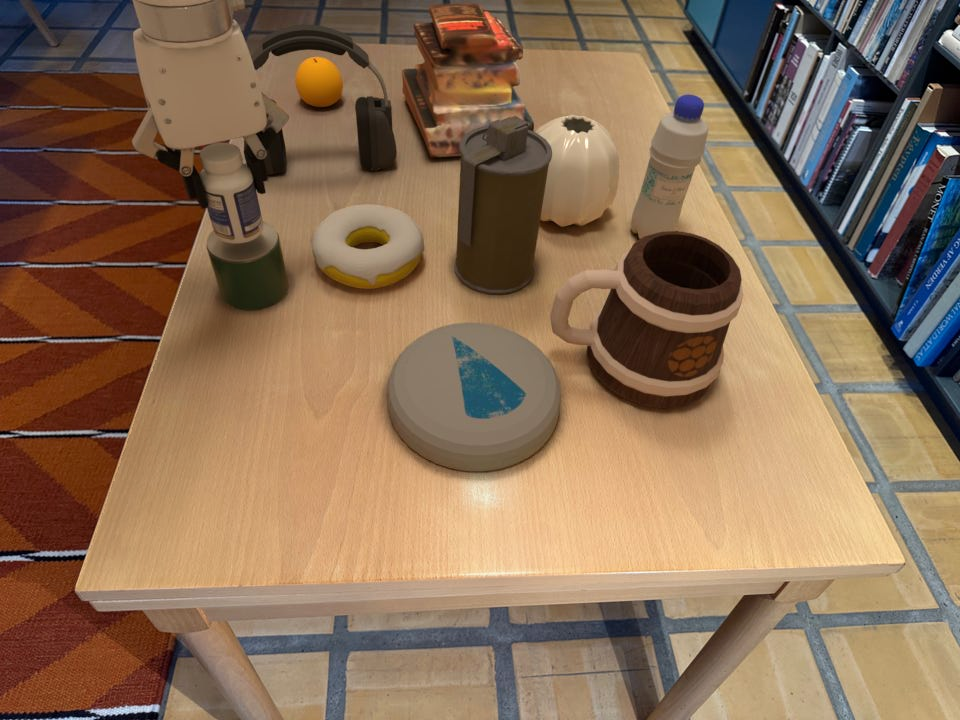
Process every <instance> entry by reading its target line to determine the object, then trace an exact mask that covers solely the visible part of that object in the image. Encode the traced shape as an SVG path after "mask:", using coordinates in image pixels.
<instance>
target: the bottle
mask: <svg viewBox="0 0 960 720" xmlns="http://www.w3.org/2000/svg"><path fill="white" fill-rule="evenodd" d="M704 109H705V103H704V100H703V99H702V98H701V97H700V96H698V95H695V94H689V93H688V94H683V95H681V96H679V97H678V98H677V99H676V102H675V105H674V107H673V111H672V112H668V113H666V114H664V115H663V116H662V117H661V118H660V121H659V123H658V125H657V127H656V130H655V132H654V135H653V136H652V138H651V141H650V143H651V144H650V148H649V156H650V157H649V160H648V163H647V167H646V171H645V174H644V178H643V181H642V184H641V189H640V192H639V194H638V197H637V200H636V203H635V205H634V207H633V211H632V215H631V220H630V221H631V222H630V227H631V231H632V233H633V234H636V235H637V236H638V240H640V239H641V238H643V237H644V236H648V235H651V234H655V233H659V232H666V231H676V228H677V226H678V224H679V220H680V216H681V213H682V208H683V205H684V201H685V198H686V195H687V193H688V190H689V187H690V184H691V182H692V179H693V175H694V172H695V170H696V167H697V166H699V165H700V163H701V160H702V157H703V155H704V153H705V150H706V149H705V148H706V144H707V143H706V142H707V137H708V133H709V124H708V123H707V122H706V120H704V119H703V118H702V115H703V112H704Z"/></svg>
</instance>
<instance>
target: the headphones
mask: <svg viewBox="0 0 960 720" xmlns="http://www.w3.org/2000/svg"><path fill="white" fill-rule="evenodd" d="M307 50H309V51H318V52H319V51H320V52H325V53H330V54H333V55H337V56H341V57H342V56H344V55H345V54H346V52H347V54H348V57H349V58H350V59H351V60H352V61H353V63H355V64H356V65H358V67H361V68H362V69H366V68H368V69H369V70H370V71H371V72H372V73H373V74H374V76H375V78H377V80H378V82H379V84H380V86H381V90H382V92H383V93H382V94H383V98H382V97H376V96H375V97H374V96H372V95H371V96H370V95H367V96H366V97H365V96H359V97H358V98H357V99H356V101H355V105H354V109H355V117H356V118H355V119H356V132H357V144H358V147H357V148H358V155H359V163H360V165H361V167H362V168H363V170H366V171H370V170H372V171H379V170H380V169H381V170H382V169H387V168H390V167H391V166H392V165H393V164H394V162H395V161H396V158H397V153H398V152H397V151H398V150H397V144H396V139H395V134H394V131H393V109H392V108H393V107H392V102H391V100H390V99H388V92H387V86H386V84H385V81H384V78H383V77H382V74H381V73H380V71H379V70H378V69H377V67H376V66H375V65H374V64H373V63H372V62H371V61H370V58H369V54H368V53H367V52H366V51H365V50H364V49H363V48H362V47H361V46H360V45H358V44H357V43H355V42H353V37H352V36H350V35H348V34H346V33H344V32H342V31H340V30H338V29H334V28H332V27H328V26H324V25H319V24H309V23H308V24H305V23H303V24H294V25H289V26H286V27H283V28H279V29H277V30H275V31H273V32H271V33H269V34H267V35H265V37H263V38H262V42H261V44H260V45H259V46H258V47H257V48H256V49H255V50H254V51H253V53H252V54H250V55H251V58H252V62H253V65H254V69H255V71H258V70H259V69H261V68H262V67H263V66H264V65H265V64H266V63H267V61H268V59H269V57H270V53H271V54H272V55H273V56H274V57H280V56H285V55H287V54H290V53H294V52H298V51H307ZM270 99H271V100H272V101H273V102H275V103H276V104H277V105H278V103H277V102H276V101H275V100H274V99H272V98H270ZM266 117H267V118H268V117H269V114H267V113H266ZM246 146H247V143H246V141H245V140H244V139H243V152H244V151H245V148H246ZM266 152H267V155H266V157H265V158H264V162H265V167H266V172H267V176H268V175H269V176H271V175H273V176H274V175H275V174H282V173H283V172H285V169H286V166H287V150H286V142H285V137H284V130H283V128H282V129H281V130H280V131H278V133H277V136H276V138H275V139H274V141H273V142H272V144H271V145H270V147H269V148H268V149H267V151H266ZM243 156H244V157H245V155H244V154H243Z"/></svg>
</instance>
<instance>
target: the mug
mask: <svg viewBox="0 0 960 720" xmlns="http://www.w3.org/2000/svg"><path fill="white" fill-rule="evenodd" d="M591 289H602V290H609V293H608V295H607V298H606V300H605V302H604V304H603V306H602V307H599V310H598V311H597V312H596V314H595V316H594V318H593V320H591V321H592V322H591V323H590V325H589V329H581V328H577V327H572V326H571V325H570V324H569V316H570V314H571V310H572V306H573V303H574V301H575V300H576V299H577V298H578V297H579V296H580V295H581V294H582V293H585V292H587V291H589V290H591ZM743 299H744V290H743V285H742V273H741V269H740V267H739V265H738V264H737V262H736V260H735V258H734V257H733V256H732V255H731V254H730V253H728V251H726V250H725V249H724V248H723V247H722V246H720V245H719V244H718V243H716V242H714V241H712V240H710V239H708V238H707V237H704V236H701V235H697V234H695V233H691V232H684V231H679V230H675V231H666V232H659V233H655V234H651V235H648V236H644V237H643V238H641V239H638V240H637V241H635V242H633V244H632V246H631V248H629V249H628V250H626V251H625V252H624V253H623V254H622V256H621V257H620V259H619V261H618V262H617V264H616V266H615V268H614V269H584V270H583V271H581V272H578V273H576V274H575V275H572V276H570V277H569V278H568V279H567V280H566V281H565V282H564V283H563V284H562V285H561V286H559V288H558V289H557V290H556V293H555V296H554V299H553V303H552V306H551V310H550V314H549V320H550V324H551V325H550V326H551V331H552V333H553V334H554V335H556V336H557V337H559V338H560V339H561V340H563V341H564V342H565V343H567V344H571V345H578V346H586V358H587V359H588V362H589V365H590V368H591V370H592V371H593V373H594V374H595V376H596V377H597V378H598V379H599V381H600V382H601V383H602V385H604V386H605V387H607V388H608V389H609V390H611V391H612V392H613V393H615V394H616V395H618V396H619V397H621V398H623V399H626V400H628V401H631V402H632V403H636V404H638V405H642V406H648V407H653V408H658V409H664V408H680V407H683V406H686V405H688V404H691V403H693V402H696V401H698V400H700V398H702V397H703V396H704V395H705V394H706V393H707V392H708V391H709V390H710V388H711V385H712V383H713V381H715V380H716V379H717V378H718V377H719V374H720V372H721V368H722V366H723V363H724V358H725V352H724V344H725V341H726V337H727V334H728V330H729V327H730V324H731V322H732V321H733V320H734V319H735V318H736V317H737V316H738V315H739V311H740V309H741V306H742V304H743V303H742V302H743Z"/></svg>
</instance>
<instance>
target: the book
mask: <svg viewBox="0 0 960 720" xmlns="http://www.w3.org/2000/svg"><path fill="white" fill-rule="evenodd" d="M428 10H429V15H430V18H431V22H425V23H424V22H417V23H416V22H415V23H414V24H413V30H414V33H413V35H414V36H415V38H416V41H417V44H416V45H417V48H418V51H419V53H420V54H421V56H422V58H423V62H422V63H420V64H415V65H414V68H403V69H402V70H401V77H402V94H403V96H404V98H405V101H406V103H407V105H408V107H409V110H410V111H411V113H412V115H413V118H414V120H415V122H416V124H417V127H418V130H419V132H420V133H421V136H422V137H423V140H424V142H425V146H426V148H427V151H428V153H429V156H430V158H431V159H434V158H447V157H448V158H449V157H461V153H460V149H459V145H460V142H461V139H462V138H463V137H464V136H465V134H467V133H468V132H470V131H471V130H473V129H476V128H480V127H483V126H487V125H489V124H490V123H491V122H493V121H496V120H503V119H505V118H508V117H513V116H517V117H519V118H520V119H522V120H524V121H526V122H528V123H530V124H531V127H530V128H528V130H531V131H533V132H535V130H534V129H535V124H534V123H535V122H534V120H533V118H532V116H531V115H530V113H529V111H528V110H527V108H526V105H525V104H524V103H523V101H522V100H521V97H520V96H519V94H518V93H517V91H516V89H515V88H514V87H518V86H520V84H521V78H520V69H519V67H518V65H517V63H516V61H519V60H522V59H523V58H524V49H523V47H522V46H521V45H520V44H519V43H518V42H517V40H516V38H514V37H513V35H512V34H511V33H510V32H509V30H508V29H507V28H506V27H505V26H504V25H503V23H502V22H501V20H500V19H498V17H496V16H495V17H493V16H492V15H491V13H490V12H489V11H485V10H484V8H483V7H482V5H481V4H479V3H474V2H473V3H471V2H470V3H468V2H465V3H464V2H461V3H459V2H458V3H457V2H456V3H438V4H432V5H430V6H429V9H428Z"/></svg>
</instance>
